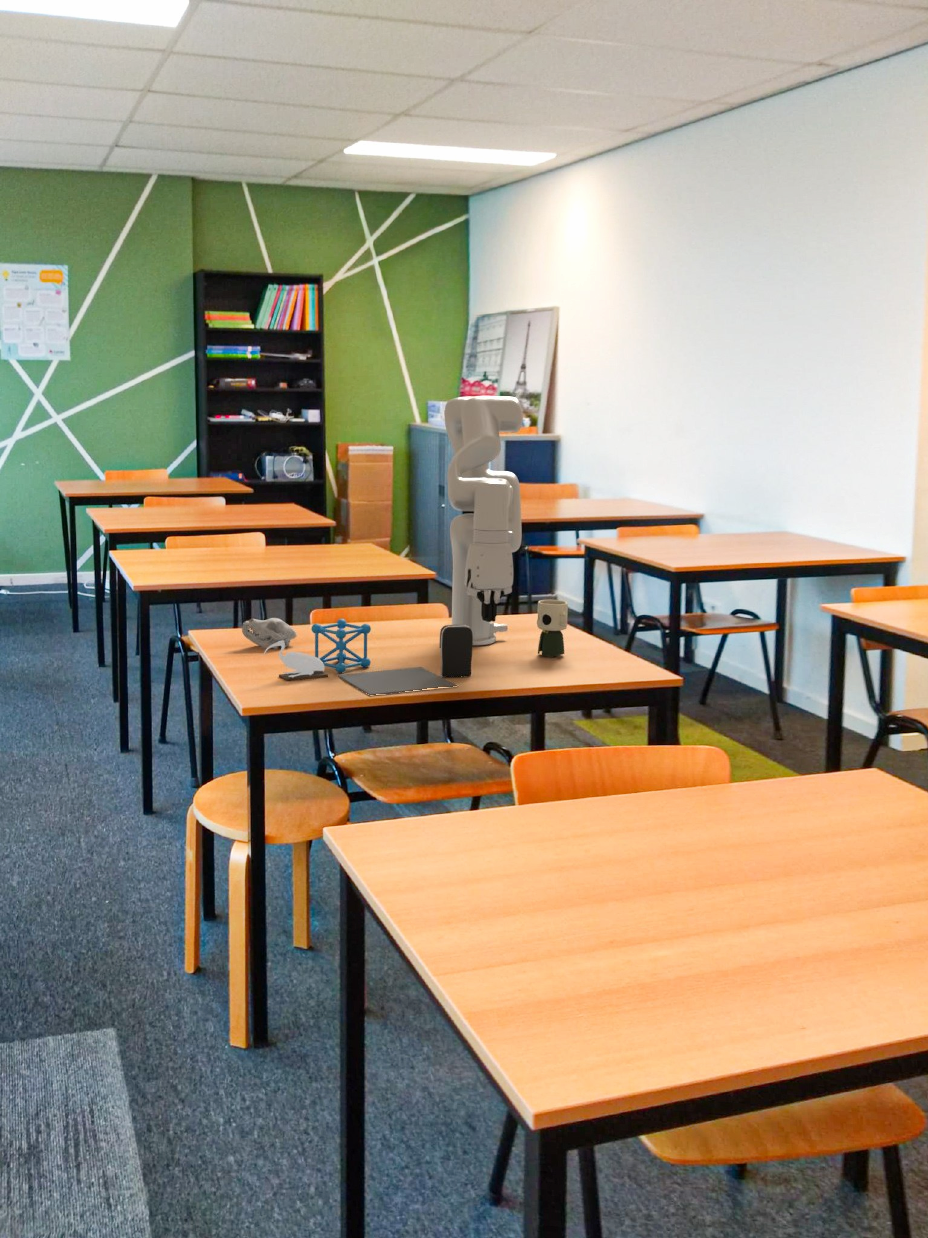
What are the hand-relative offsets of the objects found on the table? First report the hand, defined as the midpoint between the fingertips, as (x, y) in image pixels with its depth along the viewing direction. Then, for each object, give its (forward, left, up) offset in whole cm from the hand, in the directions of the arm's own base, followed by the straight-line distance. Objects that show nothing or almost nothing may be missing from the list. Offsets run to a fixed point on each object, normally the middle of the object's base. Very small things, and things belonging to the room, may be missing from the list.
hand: (488, 620), depth 275 cm
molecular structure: (+28, -18, -12) cm, 35 cm away
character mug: (-22, -10, -12) cm, 27 cm away
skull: (+36, -44, -12) cm, 58 cm away
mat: (+22, -1, -12) cm, 25 cm away
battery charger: (+8, -1, -12) cm, 14 cm away
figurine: (+41, -12, -12) cm, 44 cm away
